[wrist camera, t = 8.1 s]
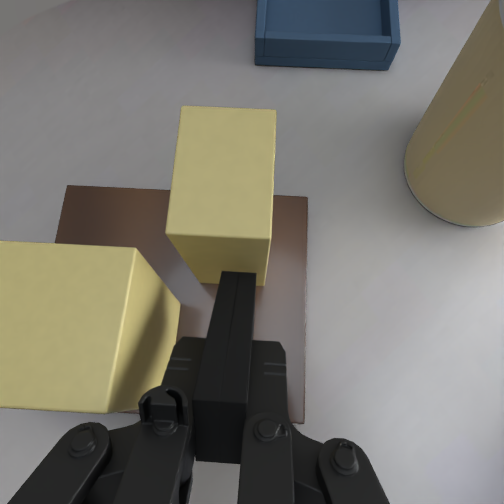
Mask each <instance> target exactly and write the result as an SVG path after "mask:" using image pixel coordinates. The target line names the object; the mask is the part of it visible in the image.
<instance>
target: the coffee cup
mask: <svg viewBox="0 0 504 504" xmlns="http://www.w3.org/2000/svg"><path fill="white" fill-rule="evenodd" d="M404 172H405V177H406V180H407V183H408V186H409V187H410V189H411V191H412V193H413V195H414V196H415V197H416V199H417V200H418V201H419V202H420V203H421V204H422V205H423V206H424V208H426V209H427V210H428V211H430V212H431V213H432V214H434V215H435V216H437V217H439V218H441V219H443V220H445V221H447V222H450V223H453V224H457V225H461V226H468V227H482V226H488V225H493V224H496V223H499V222H502V221H504V0H491V1H490V3H489V4H488V6H487V7H486V9H485V11H484V13H483V14H482V16H481V18H480V19H479V21H478V23H477V25H476V26H475V28H474V30H473V31H472V33H471V35H470V36H469V38H468V40H467V42H466V43H465V45H464V47H463V48H462V50H461V52H460V54H459V55H458V57H457V59H456V60H455V62H454V64H453V66H452V67H451V69H450V71H449V72H448V74H447V76H446V78H445V79H444V81H443V83H442V85H441V86H440V88H439V90H438V91H437V93H436V95H435V97H434V98H433V100H432V102H431V104H430V105H429V107H428V109H427V111H426V112H425V114H424V116H423V118H422V119H421V121H420V123H419V125H418V126H417V128H416V130H415V132H414V134H413V136H412V138H411V140H410V142H409V144H408V146H407V148H406V152H405V157H404Z"/></svg>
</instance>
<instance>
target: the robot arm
mask: <svg viewBox="0 0 504 504" xmlns="http://www.w3.org/2000/svg"><path fill="white" fill-rule="evenodd" d="M256 276H257V273H250V272H233V271H222V272H221V277H220V281H219V285H218V289H217V294H216V298H215V302H214V307H213V311H212V315H211V319H210V324H209V328H208V332H207V337H206V338H201V337H185V336H183V337H182V338H181V339H180V340H179V341H178V342H177V343H176V344H175V345H174V347H173V350H172V353H171V356H170V360H169V361H168V364H167V369H166V370H165V373H164V376H163V379H162V382H161V385H160V386H157V387H154V388H152V389H150V390H148V391H147V392H146V393H145V394H143V395H142V397H141V399H140V400H139V402H138V407H139V413H140V419H141V421H139V422H137V423H135V424H133V425H130V426H127V427H123V428H118V429H114V430H110V431H108V430H107V428H106V427H105V426H103V425H102V424H100V423H95V422H88V423H83V424H80V425H78V426H76V427H74V428H72V429H70V430H69V431H68V432H67V433H66V434H65V435H64V436H63V437H62V438H61V439H60V440H59V441H58V442H57V444H56V445H55V446H54V447H53V449H52V450H51V451H50V452H49V453H48V455H47V456H46V457H45V458H44V459H43V461H42V462H41V463H40V464H39V466H38V467H37V468H36V469H35V470H34V472H33V473H32V474H31V475H30V477H29V478H28V479H27V480H26V481H25V483H24V484H23V485H22V486H21V488H20V489H19V490H18V491H17V492H16V494H15V495H14V496H13V497H12V498H11V500H10V501H9V502H8V503H7V504H188V503H189V498H190V492H191V487H192V482H193V473H192V468H193V463H194V457H195V458H196V461H204V462H218V463H232V464H240V477H239V489H238V501H237V504H390V503H389V501H388V499H387V497H386V495H385V493H384V491H383V488H382V486H381V484H380V482H379V480H378V478H377V476H376V474H375V472H374V470H373V467H372V465H371V463H370V461H369V459H368V457H367V456H366V454H365V453H364V451H363V450H362V449H361V448H360V447H359V446H358V445H356V444H355V443H354V442H352V441H349V440H346V439H344V438H333V439H331V440H328V441H326V442H325V443H324V444H323V443H320V442H318V441H315V440H312V439H310V438H308V437H306V436H304V435H302V434H301V433H300V432H299V431H297V430H296V428H295V427H294V426H293V425H292V423H291V420H290V418H289V413H288V392H287V368H286V352H285V350H284V348H283V346H282V345H281V343H280V342H279V341H263V340H253V333H254V316H255V296H256Z"/></svg>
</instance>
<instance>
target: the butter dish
mask: <svg viewBox="0 0 504 504" xmlns="http://www.w3.org/2000/svg"><path fill="white" fill-rule="evenodd" d="M400 44H401V40H400V26H399V12H398V0H257V15H256V30H255V65H273V66H296V67H320V68H344V69H368V70H388V69H389V67H390V65H391V63H392V61H393V59H394V57H395V55H396V53H397V50H398V48H399V46H400Z"/></svg>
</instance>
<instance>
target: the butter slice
mask: <svg viewBox="0 0 504 504" xmlns="http://www.w3.org/2000/svg"><path fill="white" fill-rule="evenodd" d="M276 115H277V112H276V110H272V109H249V108H226V107H202V106H182V107H181V113H180V121H179V128H178V136H177V144H176V152H175V160H174V168H173V176H172V183H171V191H170V199H169V207H168V215H167V223H166V231H165V233H166V235H167V237H168V238H169V239H170V241H171V242H172V244H173V245H174V247H175V248H176V249H177V251H178V252H179V254H180V255H181V257H182V258H183V260H184V261H185V262H186V264H187V265H188V267H189V268H190V270H191V271H192V272H193V274H194V275H195V277H196V278H197V280H198V281H199V282H200V283H214V284H219V281H220V277H221V272H222V271H233V272H250V273H257V276H256V286H264V285H265V278H266V271H267V265H268V258H269V251H270V244H271V236H272V212H273V188H274V163H275V139H276Z"/></svg>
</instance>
